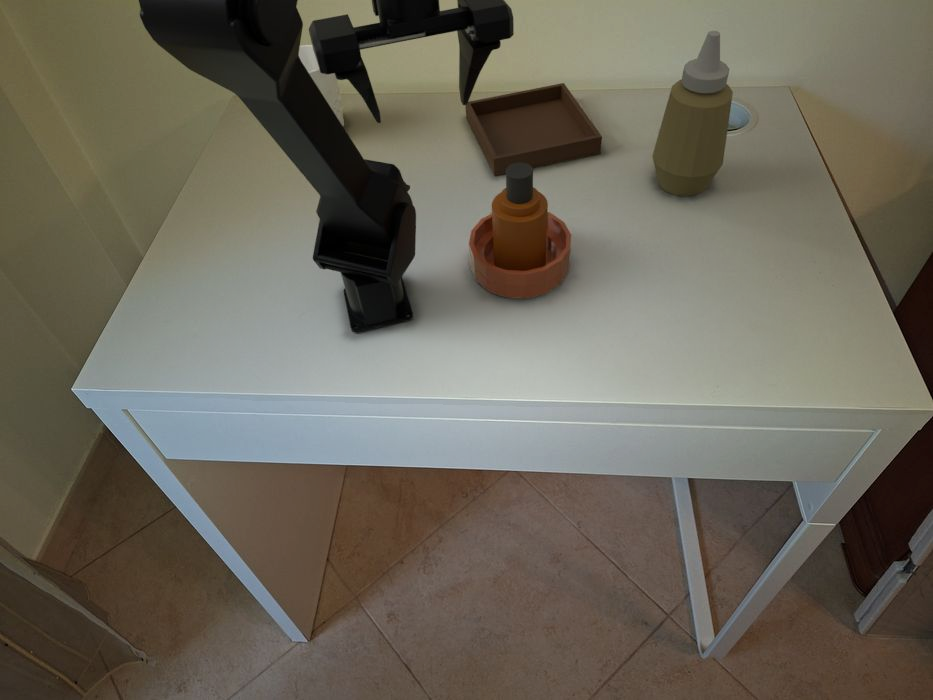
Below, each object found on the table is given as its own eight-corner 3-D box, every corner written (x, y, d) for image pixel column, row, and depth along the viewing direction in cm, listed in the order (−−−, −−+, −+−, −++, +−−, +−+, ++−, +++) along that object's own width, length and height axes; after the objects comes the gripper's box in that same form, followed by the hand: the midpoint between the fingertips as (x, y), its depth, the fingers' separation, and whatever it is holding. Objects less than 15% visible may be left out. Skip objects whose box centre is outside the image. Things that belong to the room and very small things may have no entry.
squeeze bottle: (666, 209, 79) (696, 59, 65) (636, 170, 84) (658, 23, 70) (729, 194, 80) (772, 43, 66) (696, 157, 85) (730, 9, 71)
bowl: (583, 288, 71) (585, 260, 68) (486, 311, 70) (484, 283, 67) (550, 227, 78) (551, 198, 75) (461, 246, 77) (458, 218, 74)
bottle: (552, 274, 72) (557, 180, 63) (502, 286, 72) (499, 193, 62) (536, 241, 76) (538, 148, 67) (488, 252, 75) (483, 160, 66)
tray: (600, 153, 87) (602, 136, 85) (494, 176, 85) (493, 159, 83) (563, 99, 96) (563, 82, 94) (466, 118, 94) (464, 102, 92)
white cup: (339, 145, 92) (323, 74, 84) (285, 143, 93) (263, 73, 85) (354, 113, 97) (340, 44, 89) (302, 112, 98) (284, 44, 90)
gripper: (477, -98, 65) (483, 60, 77) (284, -65, 62) (321, 93, 74) (514, -60, 58) (515, 108, 70) (298, -21, 55) (338, 146, 67)
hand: (421, 112), depth 70 cm, fingers open, 9 cm apart
